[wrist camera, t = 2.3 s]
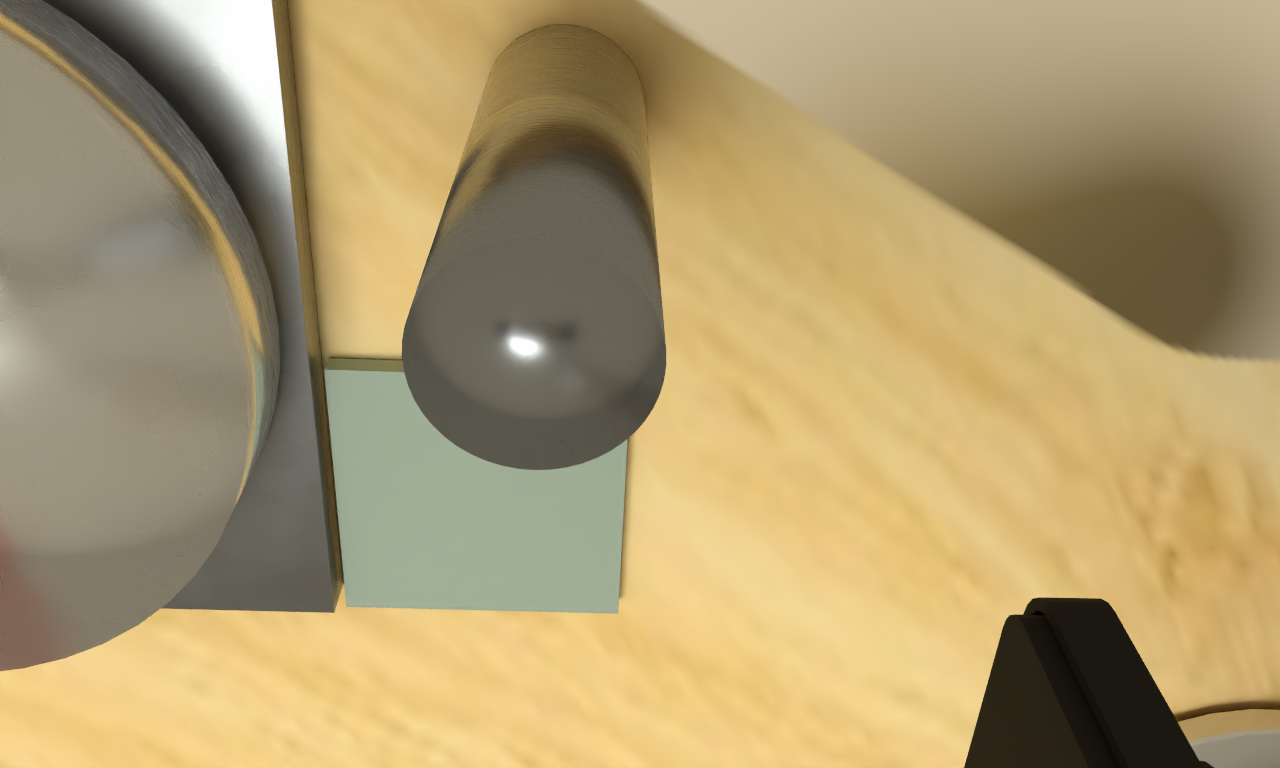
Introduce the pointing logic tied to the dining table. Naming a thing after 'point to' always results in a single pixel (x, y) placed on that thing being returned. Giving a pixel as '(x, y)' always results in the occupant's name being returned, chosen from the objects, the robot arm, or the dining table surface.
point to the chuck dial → (115, 343)
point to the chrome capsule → (544, 264)
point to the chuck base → (277, 213)
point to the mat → (462, 511)
